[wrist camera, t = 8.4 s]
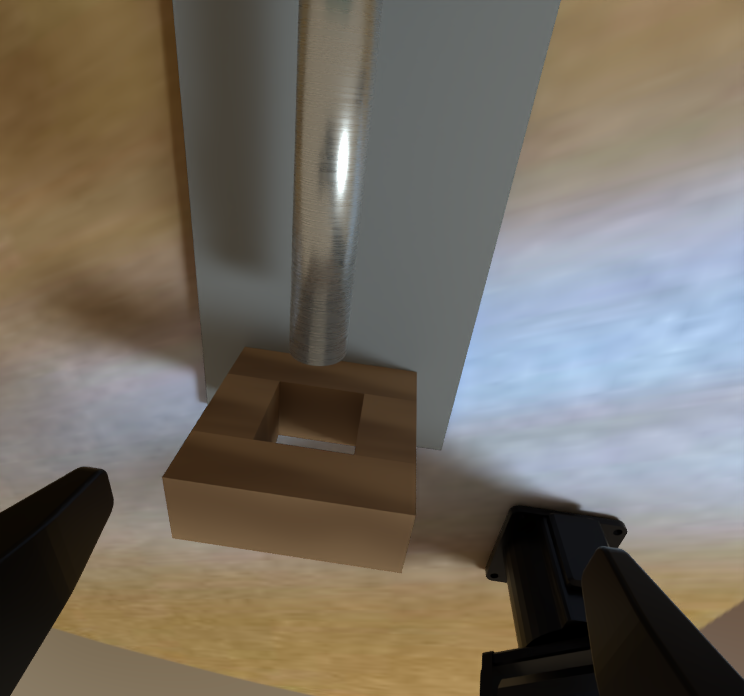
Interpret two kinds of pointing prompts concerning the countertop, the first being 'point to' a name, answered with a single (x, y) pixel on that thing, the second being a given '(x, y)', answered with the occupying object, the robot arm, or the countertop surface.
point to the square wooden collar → (301, 463)
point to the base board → (381, 182)
